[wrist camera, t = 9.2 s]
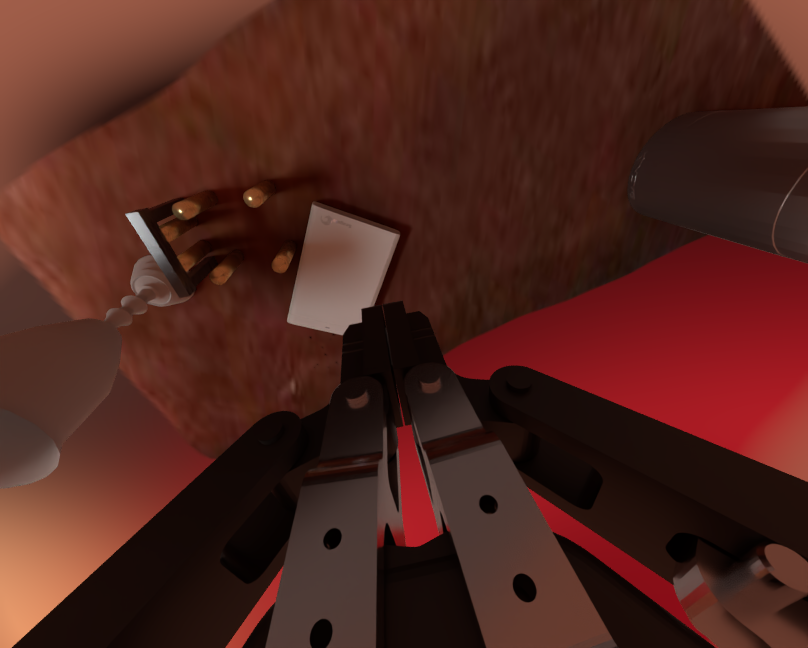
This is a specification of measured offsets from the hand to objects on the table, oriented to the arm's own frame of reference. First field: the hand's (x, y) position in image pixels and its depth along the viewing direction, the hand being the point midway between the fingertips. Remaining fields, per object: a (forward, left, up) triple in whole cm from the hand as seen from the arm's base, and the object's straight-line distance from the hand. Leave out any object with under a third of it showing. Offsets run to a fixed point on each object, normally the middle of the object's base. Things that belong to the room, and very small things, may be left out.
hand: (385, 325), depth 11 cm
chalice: (+20, +3, -20) cm, 29 cm away
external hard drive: (+1, 0, -19) cm, 19 cm away
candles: (+10, -1, -20) cm, 22 cm away
